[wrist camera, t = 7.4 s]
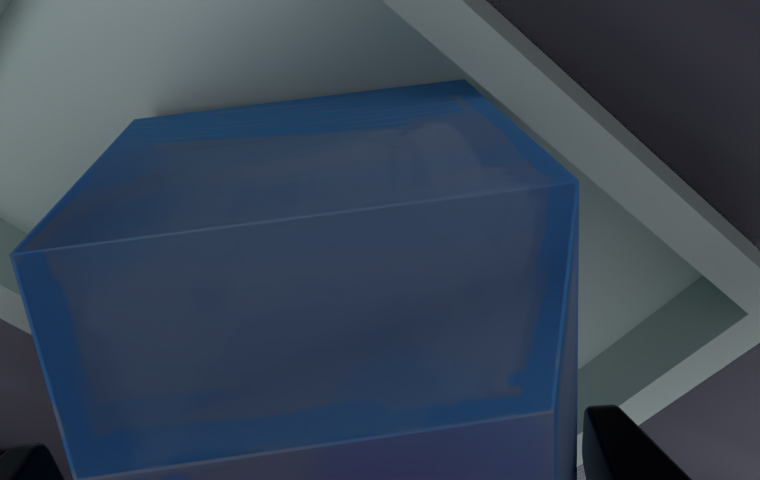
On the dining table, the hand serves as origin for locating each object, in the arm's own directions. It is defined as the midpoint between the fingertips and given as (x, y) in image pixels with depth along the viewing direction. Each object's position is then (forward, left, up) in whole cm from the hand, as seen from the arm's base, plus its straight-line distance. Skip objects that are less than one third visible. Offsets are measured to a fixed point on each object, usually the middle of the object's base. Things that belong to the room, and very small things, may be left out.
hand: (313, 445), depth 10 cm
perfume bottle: (0, 0, -6) cm, 6 cm away
